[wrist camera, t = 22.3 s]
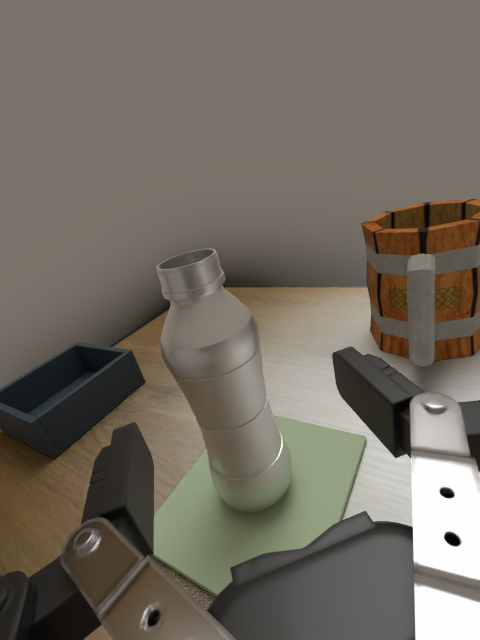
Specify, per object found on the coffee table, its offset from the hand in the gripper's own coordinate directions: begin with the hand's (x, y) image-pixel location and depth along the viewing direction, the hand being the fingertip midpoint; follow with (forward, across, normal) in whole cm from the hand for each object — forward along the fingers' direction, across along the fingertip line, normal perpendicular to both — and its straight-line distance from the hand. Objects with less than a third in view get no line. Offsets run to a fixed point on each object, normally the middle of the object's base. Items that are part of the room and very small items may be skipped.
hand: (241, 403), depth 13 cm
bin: (+33, +21, +16) cm, 42 cm away
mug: (+20, -25, +17) cm, 36 cm away
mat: (+9, 0, +17) cm, 19 cm away
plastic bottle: (+9, 0, +16) cm, 19 cm away
